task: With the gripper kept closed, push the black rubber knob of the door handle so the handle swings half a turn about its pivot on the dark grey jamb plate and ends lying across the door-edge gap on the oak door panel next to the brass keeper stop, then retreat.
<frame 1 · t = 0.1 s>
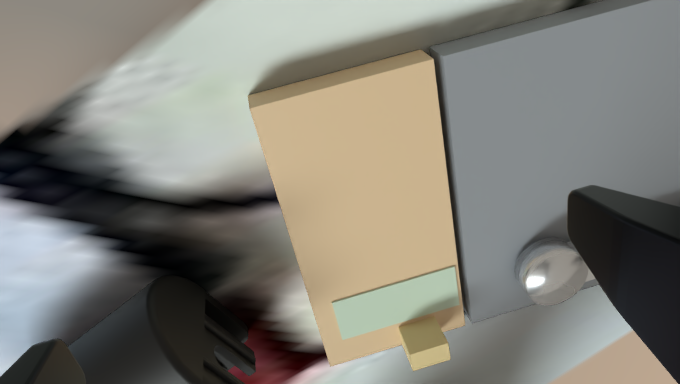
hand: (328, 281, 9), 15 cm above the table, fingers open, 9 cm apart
door board: (503, 177, 27), on the table
end cap: (139, 337, 28), on the table
door handle: (649, 262, 26), point 4 cm above the table, hinge at -90.0°
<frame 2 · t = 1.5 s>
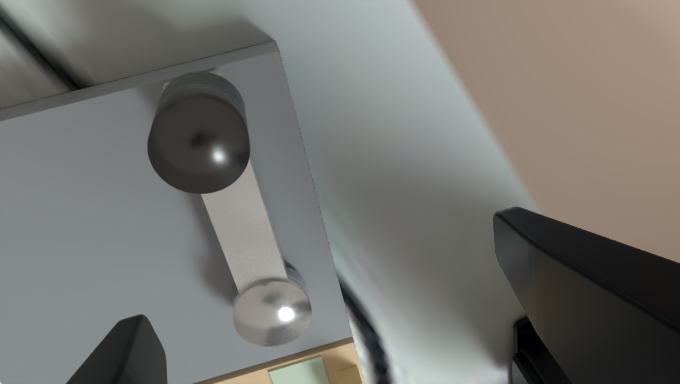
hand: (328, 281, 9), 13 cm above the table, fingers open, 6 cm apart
door board: (178, 312, 25), on the table
door handle: (243, 240, 19), point 4 cm above the table, hinge at -90.0°
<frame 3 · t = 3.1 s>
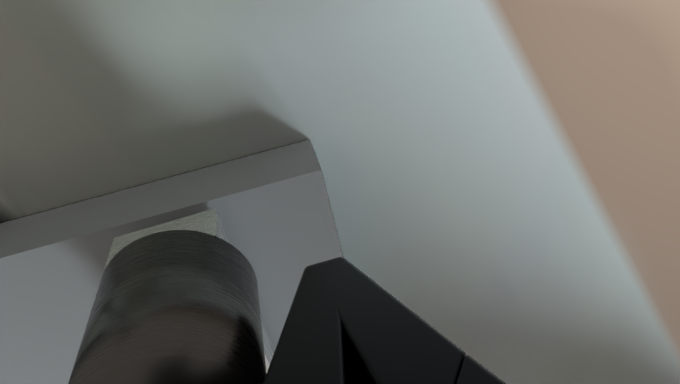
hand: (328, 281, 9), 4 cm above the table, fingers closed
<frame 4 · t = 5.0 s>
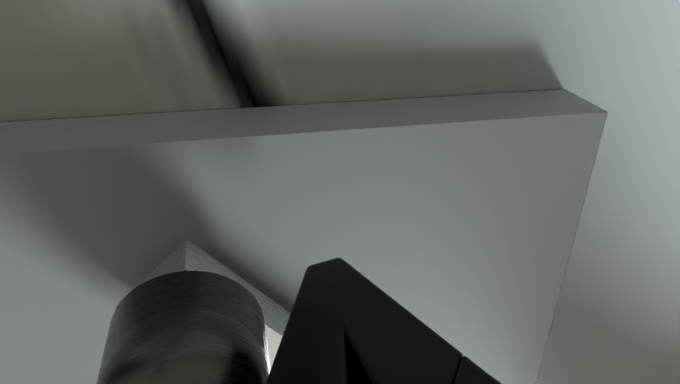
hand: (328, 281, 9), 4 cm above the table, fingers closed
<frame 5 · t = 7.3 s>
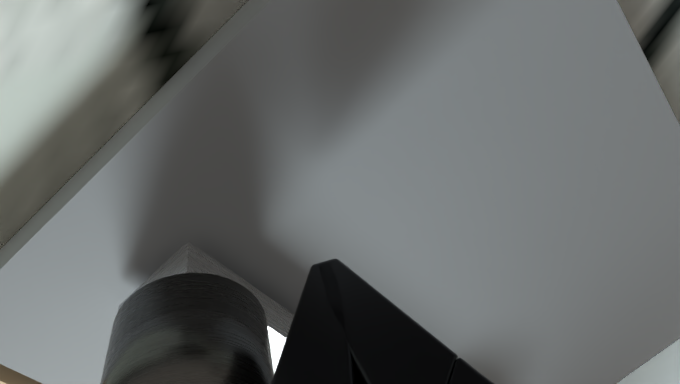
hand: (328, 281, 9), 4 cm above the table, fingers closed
door board: (295, 354, 15), on the table
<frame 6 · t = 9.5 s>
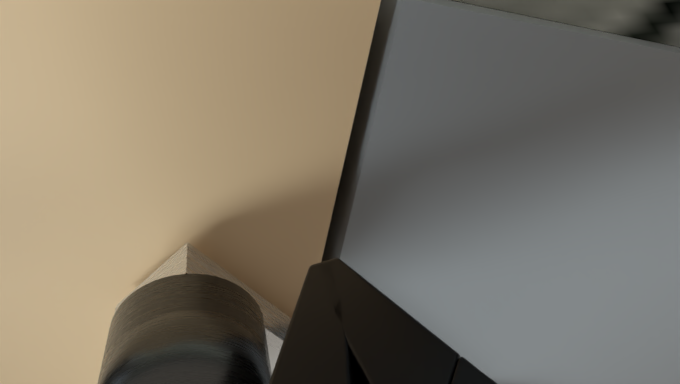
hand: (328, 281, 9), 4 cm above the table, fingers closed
door board: (415, 289, 15), on the table
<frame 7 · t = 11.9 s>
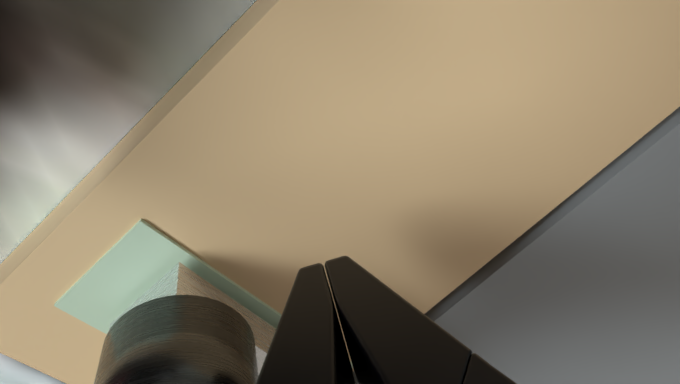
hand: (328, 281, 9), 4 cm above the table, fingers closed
door board: (498, 311, 16), on the table
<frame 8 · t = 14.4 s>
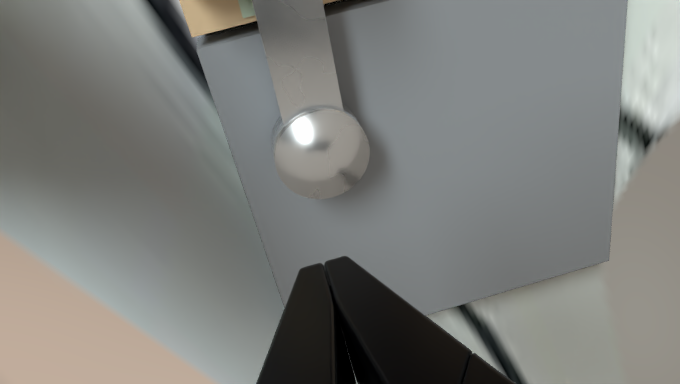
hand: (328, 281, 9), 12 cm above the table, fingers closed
door board: (416, 66, 20), on the table
door handle: (296, 28, 15), point 4 cm above the table, hinge at 88.8°
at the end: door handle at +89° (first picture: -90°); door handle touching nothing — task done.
